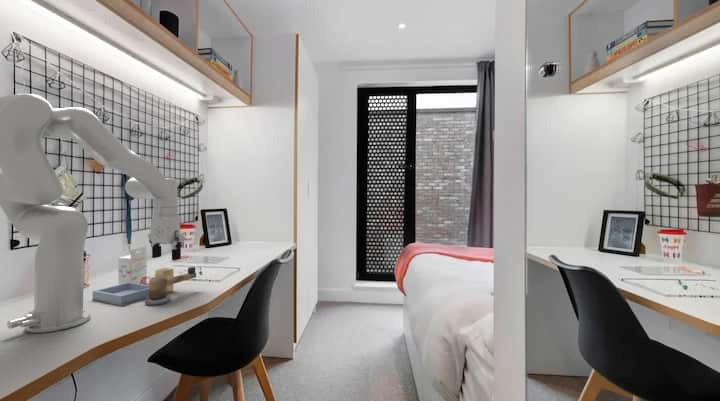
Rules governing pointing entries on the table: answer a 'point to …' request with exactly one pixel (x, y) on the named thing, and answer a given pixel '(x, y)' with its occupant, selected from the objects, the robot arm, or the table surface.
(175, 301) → the table surface
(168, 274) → the yellow rectangular block
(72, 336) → the table surface
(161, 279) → the wooden mallet
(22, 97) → the robot arm
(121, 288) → the tray
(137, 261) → the ink cartridge box
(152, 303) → the crank base
